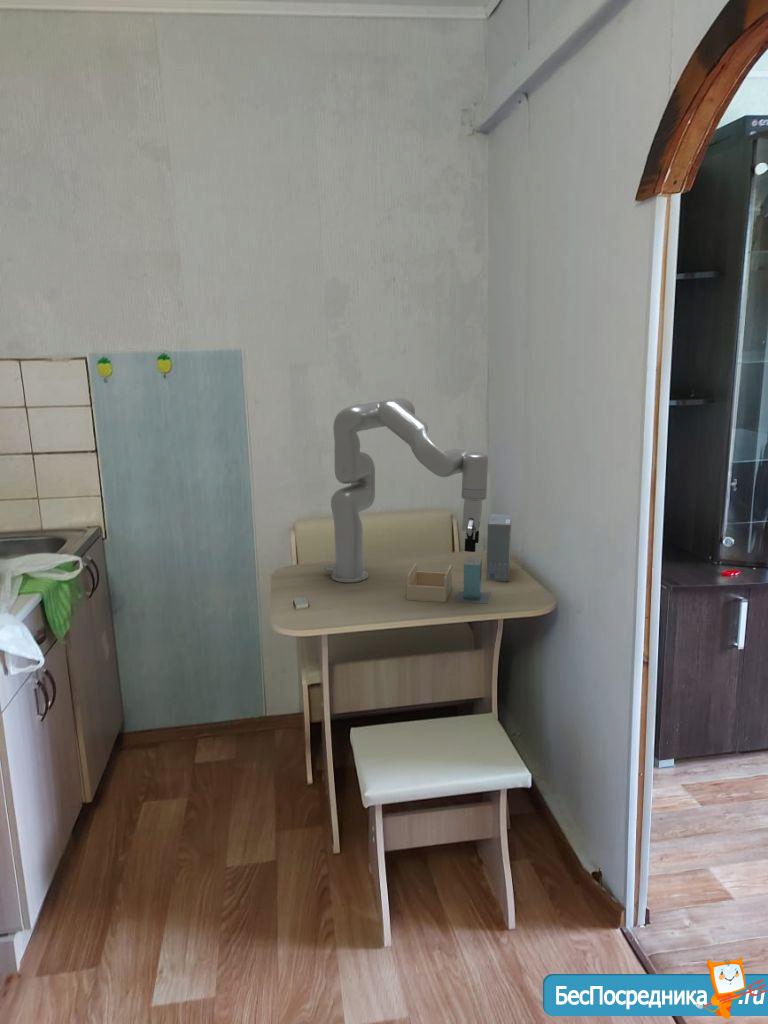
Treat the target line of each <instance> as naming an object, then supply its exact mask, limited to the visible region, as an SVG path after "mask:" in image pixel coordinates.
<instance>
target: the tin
mask: <svg viewBox="0 0 768 1024" xmlns="http://www.w3.org/2000/svg"><path fill="white" fill-rule="evenodd" d="M482 562H483V557H470V556H469V557H468V556H465V558H464V559H463V591H464V597H463V599H470V600H480V597H481V592H482V568H483V567H482V565H483V564H482Z"/></svg>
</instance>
